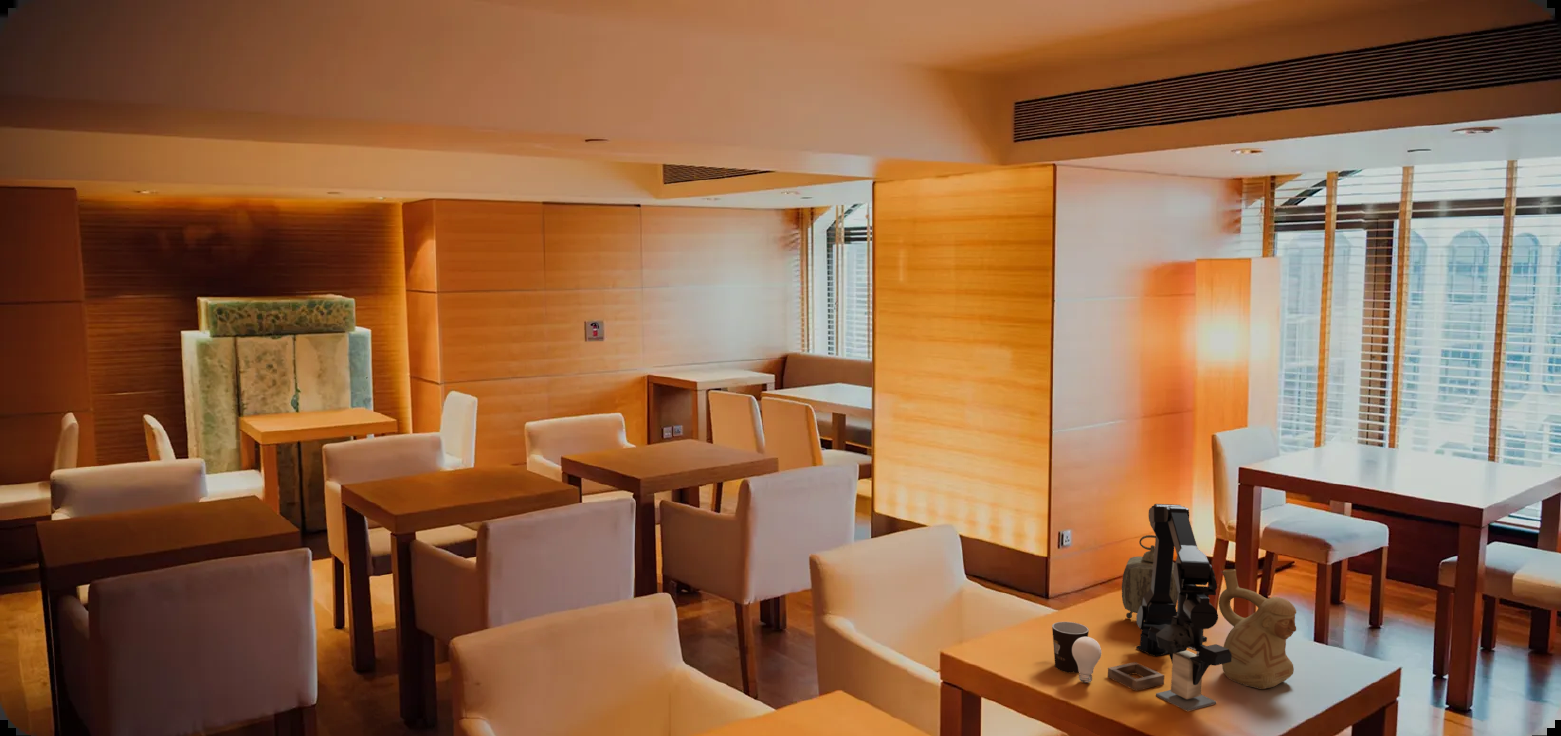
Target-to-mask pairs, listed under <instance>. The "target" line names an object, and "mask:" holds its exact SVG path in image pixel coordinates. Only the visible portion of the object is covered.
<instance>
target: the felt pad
mask: <svg viewBox="0 0 1561 736" xmlns="http://www.w3.org/2000/svg"><path fill="white" fill-rule="evenodd" d="M1155 697H1157V698H1159V699H1161V700H1164V701H1165V702H1168V703H1170V704H1172V705H1174V706H1175V707H1177V708H1180V709H1182V710H1184V711H1186V712H1191V711H1193V710H1199V709H1202V708H1205V707H1210V706H1213V705H1217V700H1214V699H1212V698H1209V697H1207V696H1205V695H1203V694H1201V696H1198V697H1194V698H1190V699H1185V698H1183V697H1181V696H1179V695H1177V694H1175V693H1173V692H1171V689H1169V690H1164V691H1160V692H1156V693H1155Z"/></svg>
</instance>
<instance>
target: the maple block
mask: <svg viewBox="0 0 1561 736" xmlns="http://www.w3.org/2000/svg"><path fill="white" fill-rule="evenodd" d="M1196 654H1197V653H1194V652H1192V651H1190V650H1187V649H1186V651H1182V652H1177V653H1173V662H1172V661H1171V664H1172V665H1171V683H1170V690H1171V692H1173V693H1175V694H1177V695H1179V696H1181V697H1183V698H1185V699H1190V698H1194V697H1198V696H1201V695H1202V684H1203V683H1202V682H1203V677H1202V678H1201V680H1200V681H1199V683H1198V684H1197V685H1193V662H1192V661H1191V659H1190V657H1195V656H1196Z"/></svg>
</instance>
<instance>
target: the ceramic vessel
mask: <svg viewBox="0 0 1561 736" xmlns="http://www.w3.org/2000/svg"><path fill="white" fill-rule="evenodd" d="M1222 575H1223V577H1224V581H1225V588H1226V589H1224V590H1223V591H1222V592H1221V594H1220V595H1219V598H1218V608H1219V612H1220V614H1221V615H1222V617H1223V618H1224V620H1226V621H1227V622H1228V623H1229V624H1230V626H1232V629H1231V630H1230V631H1229V632H1228V634H1227V636H1226V638H1225V640H1224V644H1223V647H1225V648H1227V649H1229V650H1230V651H1231V653H1232V659H1231V662H1229V663H1225V664H1221V665H1222V666H1221V667H1222V671H1223V674H1224V675H1225V677H1226V678H1228V679H1229V680H1231V681H1233V682H1235V683H1238V684H1240V685H1243V686H1246V687H1250V688H1256V689H1259V690H1266V689H1270V688H1274V687H1276V686H1278V685H1279V684H1281V683H1283V682H1286V681H1287V680H1288V679H1289V678H1291V676H1293V674H1294V672H1295V671H1294V670H1295V667H1294V664H1293V661H1291V660H1290V658H1289V657H1288V655H1287V654H1286V653H1287V652H1286V646H1287V639H1289V638H1290V637H1292V635H1293V634H1294V633H1295V632H1297V626H1296V614H1297V609H1296V607H1295V606H1294V605H1293V603H1292V602H1291V601H1290V600H1288V599H1286V598H1283V597H1281V596H1279V597H1278V596H1273V597H1269V598H1266V597H1264V596H1263V595H1261V594H1259V593H1258V592H1256V591H1253V590H1250V589H1248V588H1244V587H1243V588H1242V587H1240V586H1239V583H1238V578H1237V569H1235V568H1230V569H1224V570H1222ZM1235 598H1236V599H1243V600H1246V601H1249V602H1250V603H1252V604H1253V605H1255V606H1256V607H1257V610H1256V611H1255V612H1253V613H1252V614H1250V615H1249V616H1247V617H1242V616H1240V615H1238V614H1237V613H1235V611H1234V610H1233V608H1232V606H1231V601H1232V600H1233V599H1235Z"/></svg>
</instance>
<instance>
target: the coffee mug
mask: <svg viewBox="0 0 1561 736" xmlns="http://www.w3.org/2000/svg"><path fill="white" fill-rule="evenodd" d="M1051 629H1052V630H1051V631H1052V642H1053V643H1052V644H1053V655H1054V656H1053V657H1054V667H1055V668H1056V669H1057V670H1059V671H1061V672H1063V673H1064V672H1065V673H1069V672H1070V674H1072V673H1073V674H1074V673H1079V671H1078V665H1077V663H1076V661H1075V659H1074V657H1073V654H1072V646H1073V644H1074V642H1075V641H1076V640H1077V639H1079V638H1081V637H1089V630H1090V629H1089V628H1088V627H1087V626H1086V625H1084V624H1081V623H1079V622H1078V623H1077V622H1074V621H1058V622H1054V623H1052V624H1051Z"/></svg>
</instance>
